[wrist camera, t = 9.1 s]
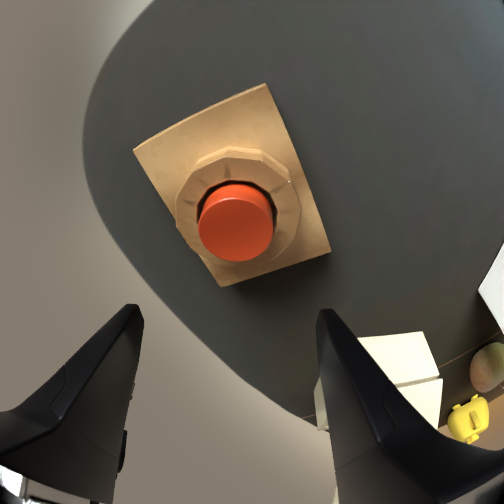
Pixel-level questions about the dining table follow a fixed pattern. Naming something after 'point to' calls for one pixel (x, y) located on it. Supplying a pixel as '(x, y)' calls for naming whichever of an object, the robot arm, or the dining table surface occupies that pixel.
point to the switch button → (236, 223)
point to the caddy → (391, 364)
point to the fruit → (488, 367)
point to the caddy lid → (418, 405)
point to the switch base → (236, 179)
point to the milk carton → (495, 289)
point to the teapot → (469, 419)
